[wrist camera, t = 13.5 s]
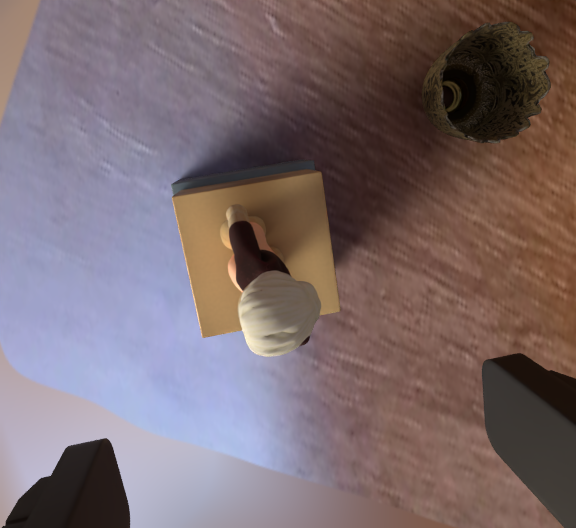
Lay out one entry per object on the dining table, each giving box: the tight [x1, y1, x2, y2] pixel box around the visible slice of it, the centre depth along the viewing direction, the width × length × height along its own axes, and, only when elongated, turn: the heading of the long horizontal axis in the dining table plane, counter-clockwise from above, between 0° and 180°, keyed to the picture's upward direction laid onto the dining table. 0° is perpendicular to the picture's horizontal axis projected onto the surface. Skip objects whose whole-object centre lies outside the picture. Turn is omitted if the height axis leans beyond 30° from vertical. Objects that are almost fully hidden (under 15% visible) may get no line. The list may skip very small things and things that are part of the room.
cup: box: [422, 22, 551, 143], centre depth 35 cm, size 8×7×8 cm
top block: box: [172, 169, 341, 338], centre depth 32 cm, size 9×9×5 cm
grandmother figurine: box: [220, 204, 321, 357], centre depth 23 cm, size 8×4×13 cm, turn 38°
